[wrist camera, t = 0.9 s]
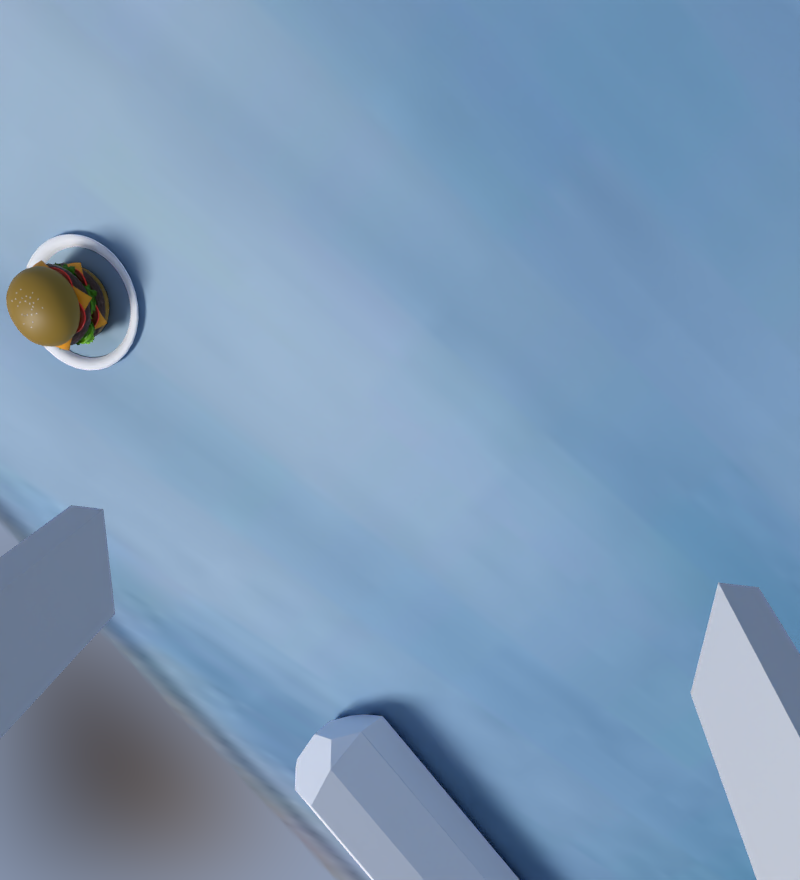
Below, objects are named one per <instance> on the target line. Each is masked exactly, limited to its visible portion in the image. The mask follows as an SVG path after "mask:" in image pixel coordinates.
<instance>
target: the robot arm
mask: <svg viewBox="0 0 800 880" xmlns="http://www.w3.org/2000/svg"><path fill="white" fill-rule="evenodd" d="M114 614H115V609H114V600H113V591H112V582H111V573H110V565H109V556H108V547H107V538H106V529H105V521H104V512H103V509H97V508H89V507H81V506H72V505H71V506H70V507H68V508H67V509H66V510H64V511H63V512H61V513H60V514H59V515H57V516H56V517H55V518H53V519H52V520H51V521H49V522H48V523H46V524H45V525H44V526H42V527H41V528H40V529H38V530H37V531H36V532H34V533H33V534H31V535H30V536H29V537H27V538H26V539H25V540H23V541H22V542H21V543H19V544H18V545H16V546H15V547H14V548H12V549H11V550H10V551H8V552H7V553H5V554H4V555H3V556H1V557H0V738H1V737H2V736H3V735H4V734H5V733H6V732H7V731H8V730H9V729H10V728H11V726H12V725H13V724H14V723H15V722H16V721H17V720H18V719H19V718H20V717H21V716H22V714H23V713H24V712H25V711H26V710H27V709H28V708H29V707H30V706H31V705H32V703H34V701H35V700H36V699H37V698H38V697H39V696H40V695H41V694H42V693H43V692H44V691H45V689H46V688H47V687H48V686H49V685H50V684H51V683H52V682H53V681H54V680H55V679H56V677H57V676H58V675H59V674H60V673H61V672H62V671H63V670H64V669H65V668H66V667H67V665H68V664H69V663H70V662H71V661H72V660H73V659H74V658H75V657H76V656H77V654H79V652H80V651H81V650H82V649H83V648H84V647H85V646H86V645H87V644H88V643H89V642H90V640H91V639H92V638H93V637H94V636H95V635H96V634H97V633H98V632H99V631H100V630H101V629H102V627H103V626H104V625H105V624H106V623H107V622H108V621H109V620H110V619H111V618H112V617H113V615H114ZM691 696H692V699H693V702H694V704H695V707H696V710H697V713H698V716H699V719H700V721H701V724H702V727H703V730H704V733H705V735H706V738H707V741H708V744H709V747H710V749H711V752H712V755H713V758H714V761H715V763H716V766H717V769H718V772H719V775H720V777H721V780H722V783H723V786H724V789H725V791H726V794H727V797H728V800H729V803H730V806H731V808H732V811H733V814H734V817H735V820H736V822H737V825H738V828H739V831H740V834H741V836H742V839H743V842H744V845H745V848H746V850H747V853H748V856H749V859H750V862H751V864H752V867H753V870H754V873H755V876H756V879H757V880H800V654H799V652H798V650H797V649H796V647H795V645H794V644H793V642H792V641H791V639H790V637H789V636H788V634H787V633H786V631H785V629H784V628H783V626H782V624H781V623H780V621H779V620H778V618H777V616H776V615H775V613H774V612H773V610H772V608H771V607H770V605H769V603H768V602H767V600H766V599H765V597H764V595H763V594H762V592H761V591H760V589H759V587H750V586H742V585H733V584H725V583H718V586H717V590H716V594H715V598H714V602H713V606H712V610H711V614H710V618H709V622H708V626H707V630H706V634H705V638H704V642H703V646H702V650H701V654H700V658H699V662H698V666H697V670H696V674H695V678H694V682H693V686H692V690H691Z"/></svg>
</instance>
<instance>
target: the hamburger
mask: <svg viewBox="0 0 800 880" xmlns="http://www.w3.org/2000/svg"><path fill="white" fill-rule="evenodd" d="M68 247H83V248H87V249H90V250H93V251H95V252H97V253H98V254H100V255H101V256H103V257H104V258H105V259H107V260H108V261H109V262H110V263H111V264H112V265H113V266H114V268H115V269H116V270H117V272H118V273H119V275H120V276H121V278H122V280H123V282H124V284H125V286H126V289H127V292H128V295H129V300H130V309H131V317H130V324H129V328H128V331H127V334H126V336H125V338H124V340H123V341H122V343H121V344H120V345H119V346H118V347H117V348H116V349H115V350H114V351H113V352H111V353H109V354H108V355H105V356H102V357H95V358H90V357H84V356H80V355H78V354H75V353H73V352H71V351H70V350H69V349H70V345H73V344H77V345H80V344H79V343H81V344H85V343H86V344H90V342H93V340H94V337H95V336H96V335H97V334H98V333H100V332H101V331H102V329H103V328H104V327H105V325H106V324H107V320H108V316H109V299H108V296H107V292H106V290H105V288H104V286H103V285H102V283H101V282H100V280H99V279H98V278H97V277H96V276H95V275H94V274H93V273H91V272H90V271H89V270H87V269H85V268H83V267H81V263H70V264H67V263H60V264H56V263H55V264H53V265H52V264H49V263H48V264H46V263H47V261H48V260H49V259H50V258H51V257H52V256H53V255H54V254H56V253H57V252H58V251H60V250H63V249H65V248H68ZM6 300H7V308H8V312H9V314H10V317H11V319H12V321H13V322H14V324H15V326H16V327H17V328H18V330H19V331H20V332H21V333H22V334H23V335H24V336H25V337H26V338H27V339H29V340H30V341H32V342H34V343H36V344H39V345H42V346H44V347H45V348H46V349H47V350H48V351H49V352H50V353H51V354H53V355H54V356H55V357H56V358H58V359H59V360H61V361H62V362H64V363H65V364H67V365H70V366H73V367H75V368H78V369H83V370H101V369H104V368H107V367H110V366H112V365H113V364H115V363H117V362H118V361H119V360H120V359H121V358H122V357H123V356H124V355H125V354H126V353H127V352H128V350H129V349H130V347H131V345H132V344H133V341H134V338H135V335H136V333H137V327H138V320H139V315H138V302H137V297H136V292H135V289H134V286H133V284H132V281H131V278H130V276H129V275H128V273H127V271H126V269H125V267H124V266H123V265H122V263H121V262H120V261H119V259H118V258H117V257H116V256H115V255H114V254H113V253H112V252H111V251H110V250H109V249H108V248H107V247H105V246H104V245H102V244H101V243H99V242H98V241H96V240H94V239H92V238H89V237H86V236H83V235H77V234H64V235H58V236H56V237H53V238H51V239H49V240H47V241H46V242H45V243H43V244H42V245H40V247H39V248H38V249H37V250H36V251H35V253H34V254H33V255H32V257H31V259H30V261H29V263H28V265H27V268H26V269H25V270H23V271H21V272H20V273H19V274H18V275H17V276H16V277H15V278H14V279H13V280H12V282H11V284H10V286H9V289H8V291H7V297H6Z"/></svg>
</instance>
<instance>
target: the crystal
mask: <svg viewBox="0 0 800 880" xmlns="http://www.w3.org/2000/svg"><path fill="white" fill-rule="evenodd" d="M364 735H365V736H366V737H365V736H364ZM369 741H370V742H371V743H370V742H369ZM348 747H349V748H348ZM375 748H376V749H375ZM344 752H345V753H344ZM380 754H381V755H382V756H381V755H380ZM340 757H341V758H340ZM385 760H386V761H387V762H386V761H385ZM390 766H391V767H392V768H391V767H390ZM396 773H397V774H396ZM401 779H402V780H401ZM406 785H407V786H408V787H407V786H406ZM295 790H296V791H297V793H298V794H299V795H300V796H301V797H302V798H303V800H304V801H305V802H306V803H307V804H308V805H309V807H310V808H311V809H312V810H313V811H314V813H315V814H316V815H317V816H318V817H319V818H320V820H321V821H322V822H323V823H324V824H325V825H326V827H327V828H328V829H329V830H330V831H331V832H332V834H333V835H334V836H335V837H336V838H337V840H338V841H339V842H340V843H341V844H342V845H343V847H344V848H345V849H346V850H347V851H348V852H349V854H350V855H351V856H352V857H353V858H354V859H355V861H356V862H357V863H358V864H359V865H360V867H361V868H362V869H363V870H364V871H365V872H366V874H367V875H368V876H369V877H370V878H371V879H372V880H519V879H518V877H517V876H516V875H515V874H514V873H513V871H512V870H511V869H510V868H509V867H508V865H507V864H506V863H505V862H504V861H503V859H502V858H501V857H500V856H499V855H498V853H497V852H496V851H495V850H494V849H493V848H492V846H491V845H490V844H489V843H488V842H487V840H486V839H485V838H484V837H483V836H482V834H481V833H480V832H479V831H478V830H477V828H476V827H475V826H474V825H473V824H472V822H471V821H470V820H469V819H468V818H467V816H466V815H465V814H464V813H463V812H462V810H461V809H460V808H459V807H458V806H457V804H456V803H455V802H454V801H453V800H452V798H451V797H450V796H449V795H448V794H447V793H446V791H445V790H444V789H443V788H442V787H441V785H440V784H439V783H438V782H437V781H436V779H435V778H434V777H433V776H432V775H431V773H430V772H429V771H428V770H427V769H426V767H425V766H424V765H423V764H422V763H421V761H420V760H419V759H418V758H417V757H416V755H415V754H414V753H413V752H412V751H411V749H410V748H409V747H408V746H407V745H406V744H405V742H404V741H403V740H402V739H401V738H400V736H399V735H398V734H397V733H396V732H395V730H394V729H393V728H392V727H391V726H390V724H389V723H388V722H387V721H386V720H385V718H384V717H383V716H377V715H366V714H363V715H351V716H347V717H343V718H339V719H336V720H332V721H329V722H328V723H327V724H326V725H325V726H323V727H322V728H321V729H320V730H319V731H318V732H317V733H315V734H314V736H313V737H312V739H311V740H310V742H309V743H308V744H307V746H306V747H305V749H304V750H303V752H302V753H301V754H300V756H299V757H298V759H297V763H296V775H295ZM411 791H412V792H413V793H412V792H411ZM417 798H418V799H417ZM422 804H423V805H422ZM427 810H428V811H427ZM432 816H433V817H434V818H433V817H432ZM438 823H439V824H438ZM443 829H444V830H443ZM448 835H449V836H448ZM453 841H454V842H453ZM464 854H465V855H464ZM469 860H470V861H469ZM474 866H475V867H474Z"/></svg>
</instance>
